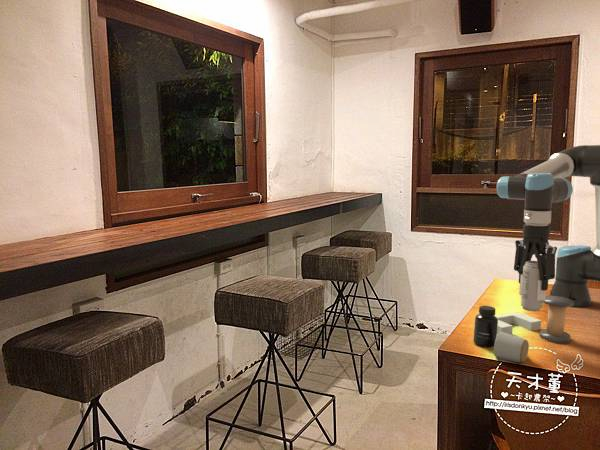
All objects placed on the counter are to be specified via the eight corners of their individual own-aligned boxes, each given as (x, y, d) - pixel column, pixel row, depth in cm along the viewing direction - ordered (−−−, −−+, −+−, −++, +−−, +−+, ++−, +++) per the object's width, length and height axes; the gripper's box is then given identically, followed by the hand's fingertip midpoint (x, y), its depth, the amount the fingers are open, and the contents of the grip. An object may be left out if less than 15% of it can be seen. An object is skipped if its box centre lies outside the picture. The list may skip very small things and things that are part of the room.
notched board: (517, 320, 180) (518, 312, 180) (540, 328, 171) (541, 320, 171) (479, 326, 173) (480, 318, 173) (501, 336, 164) (502, 327, 164)
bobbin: (552, 331, 169) (555, 294, 167) (576, 340, 160) (579, 302, 159) (533, 335, 165) (536, 297, 163) (556, 344, 157) (559, 305, 155)
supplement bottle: (480, 348, 154) (482, 311, 152) (469, 340, 160) (471, 304, 159) (500, 347, 155) (503, 310, 153) (489, 339, 161) (491, 303, 160)
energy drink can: (542, 313, 151) (545, 265, 149) (520, 310, 154) (523, 263, 152) (541, 307, 157) (544, 261, 154) (520, 305, 159) (523, 259, 157)
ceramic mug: (522, 367, 140) (524, 341, 139) (492, 360, 145) (494, 334, 144) (531, 356, 148) (533, 331, 148) (503, 349, 154) (504, 325, 153)
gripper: (503, 220, 158) (499, 290, 162) (554, 229, 141) (549, 307, 145) (521, 219, 161) (517, 287, 165) (573, 227, 144) (567, 304, 148)
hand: (532, 296), depth 155 cm, fingers closed on energy drink can, 6 cm apart
